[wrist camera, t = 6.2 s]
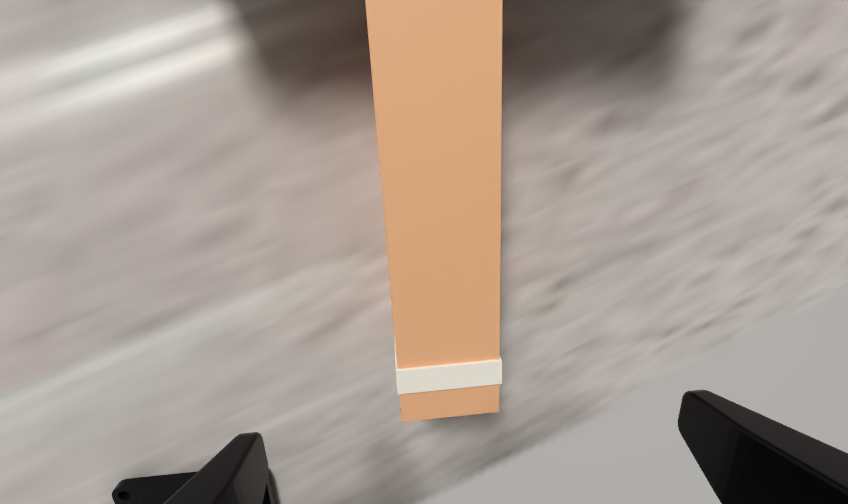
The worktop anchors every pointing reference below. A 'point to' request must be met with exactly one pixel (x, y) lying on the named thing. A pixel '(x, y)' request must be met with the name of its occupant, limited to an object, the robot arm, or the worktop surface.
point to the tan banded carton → (441, 197)
